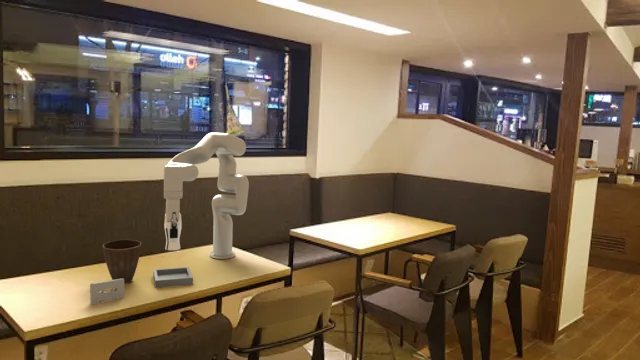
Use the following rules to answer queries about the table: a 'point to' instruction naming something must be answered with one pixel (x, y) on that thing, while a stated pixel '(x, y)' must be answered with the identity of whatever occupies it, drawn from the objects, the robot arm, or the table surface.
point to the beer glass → (172, 242)
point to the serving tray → (172, 277)
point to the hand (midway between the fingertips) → (172, 235)
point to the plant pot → (122, 258)
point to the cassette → (108, 295)
